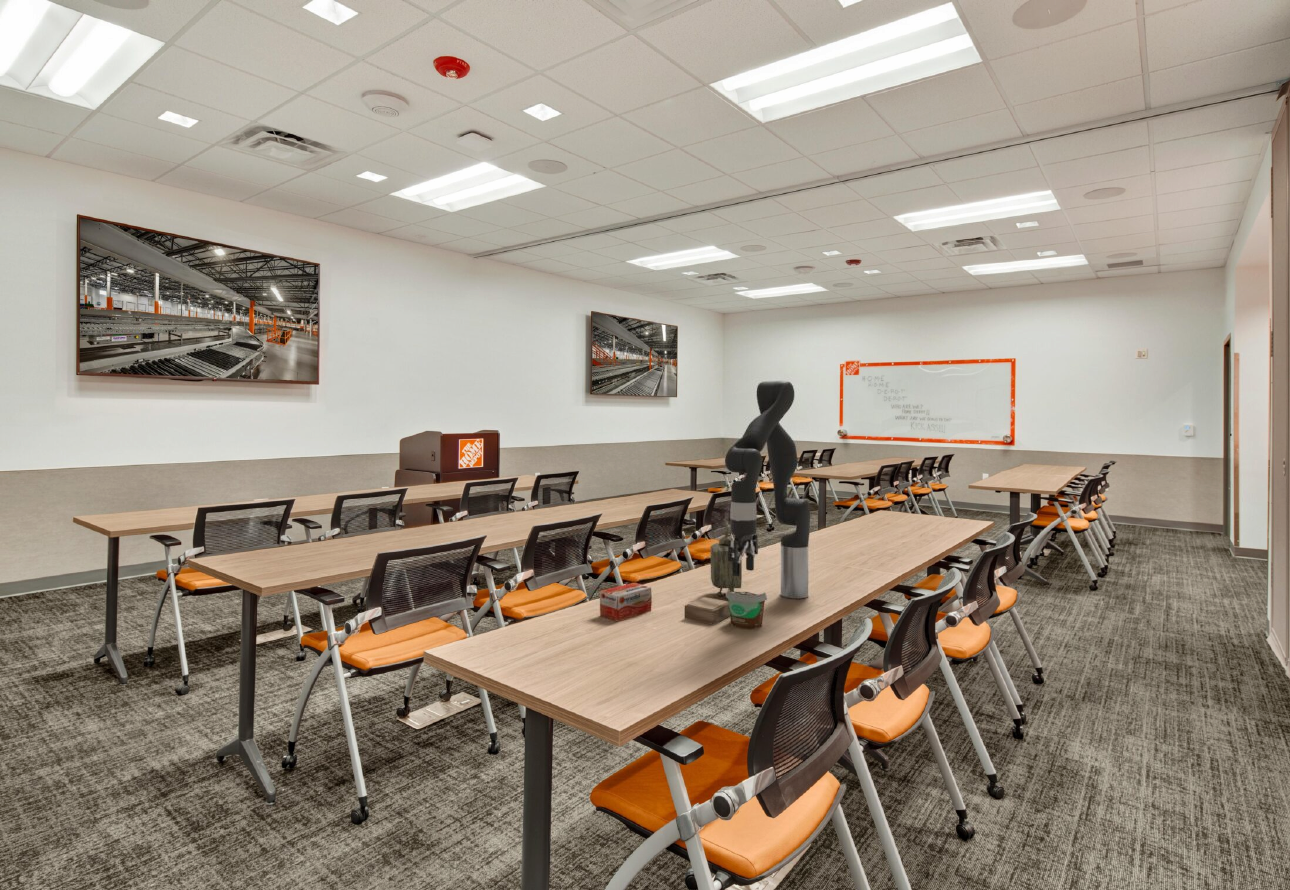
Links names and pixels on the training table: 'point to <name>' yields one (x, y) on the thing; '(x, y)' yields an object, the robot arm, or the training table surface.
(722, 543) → the tabletop clock
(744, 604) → the food container
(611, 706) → the training table surface
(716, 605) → the plinth
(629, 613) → the medicine box
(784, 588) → the robot arm
